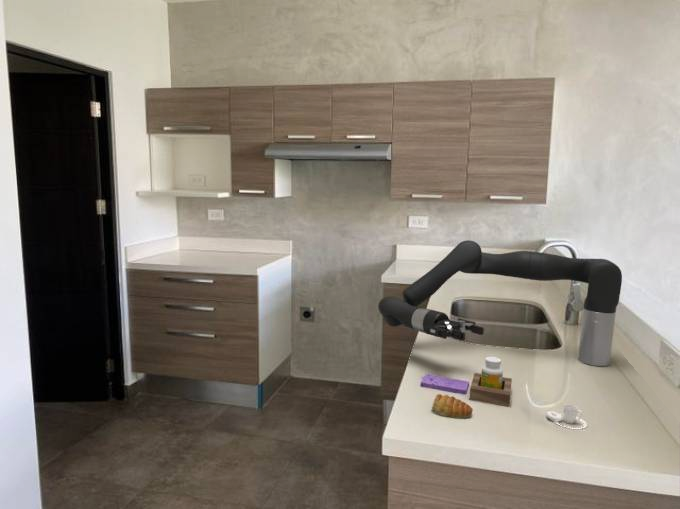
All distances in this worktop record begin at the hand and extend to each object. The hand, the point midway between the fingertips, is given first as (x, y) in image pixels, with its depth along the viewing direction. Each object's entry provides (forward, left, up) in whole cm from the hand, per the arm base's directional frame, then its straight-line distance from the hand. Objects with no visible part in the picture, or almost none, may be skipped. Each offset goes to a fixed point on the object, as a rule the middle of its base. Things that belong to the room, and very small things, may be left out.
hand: (473, 334), depth 145 cm
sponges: (+7, -6, -14) cm, 17 cm away
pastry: (+23, -3, -14) cm, 27 cm away
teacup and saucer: (+14, +23, -14) cm, 31 cm away
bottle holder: (+8, +6, -14) cm, 17 cm away
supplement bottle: (+8, +6, -14) cm, 17 cm away
